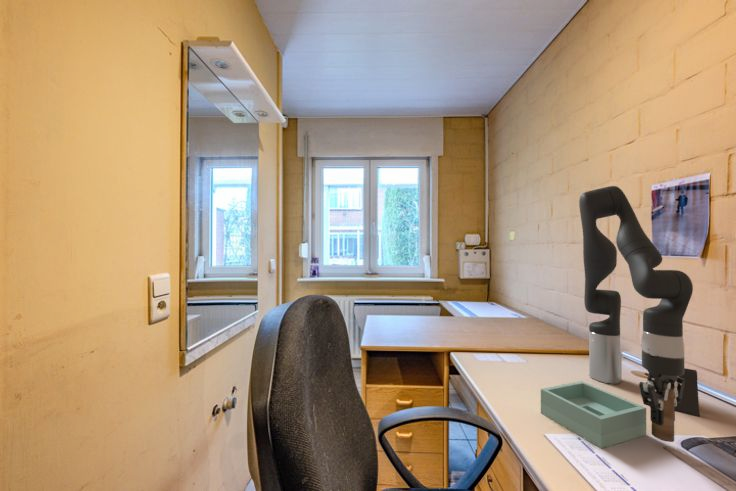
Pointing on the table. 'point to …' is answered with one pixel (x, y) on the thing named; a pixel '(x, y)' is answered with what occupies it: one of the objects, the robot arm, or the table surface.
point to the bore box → (594, 413)
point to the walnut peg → (666, 420)
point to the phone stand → (689, 394)
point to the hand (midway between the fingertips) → (662, 421)
